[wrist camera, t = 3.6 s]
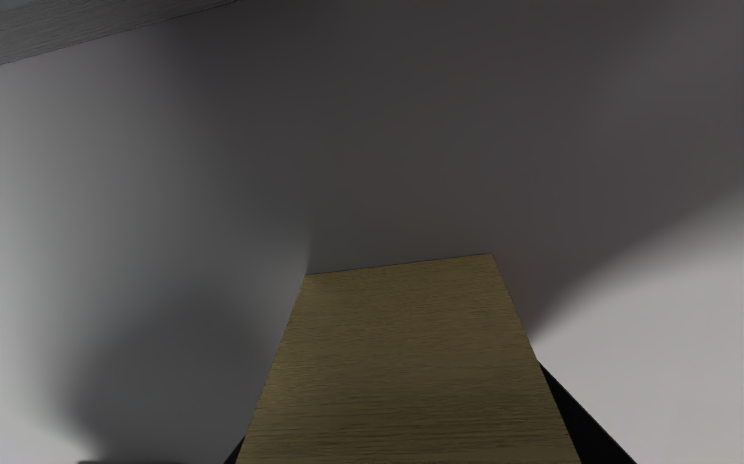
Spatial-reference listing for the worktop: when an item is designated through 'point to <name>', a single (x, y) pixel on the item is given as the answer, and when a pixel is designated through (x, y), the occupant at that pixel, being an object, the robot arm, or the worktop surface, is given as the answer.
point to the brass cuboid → (407, 373)
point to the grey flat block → (79, 21)
